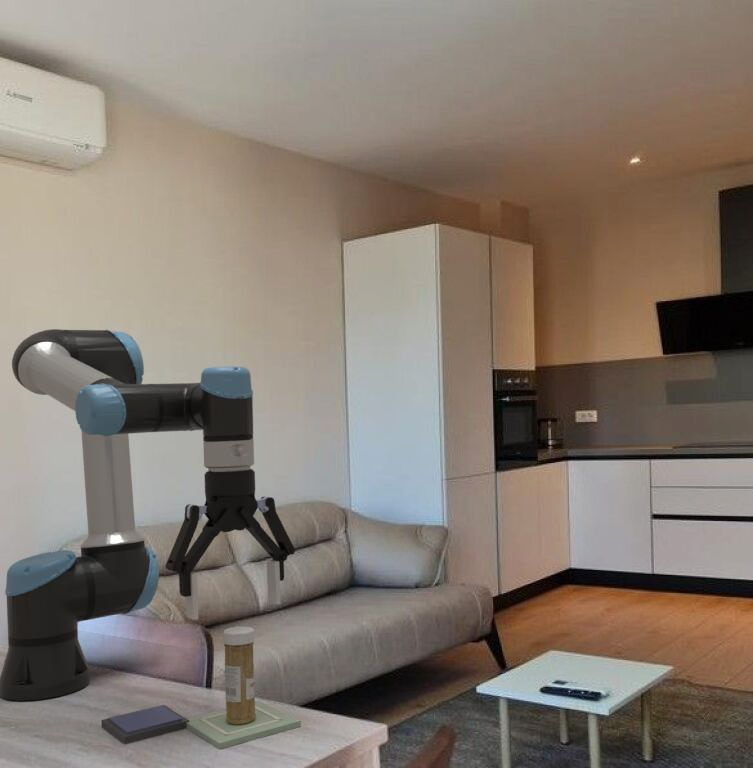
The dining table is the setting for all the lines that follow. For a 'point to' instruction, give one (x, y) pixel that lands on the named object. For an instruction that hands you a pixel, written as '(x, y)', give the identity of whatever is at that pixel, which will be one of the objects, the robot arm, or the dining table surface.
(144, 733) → the ink pad
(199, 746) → the dining table surface
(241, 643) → the sprinkles bottle
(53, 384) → the robot arm
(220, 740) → the board
